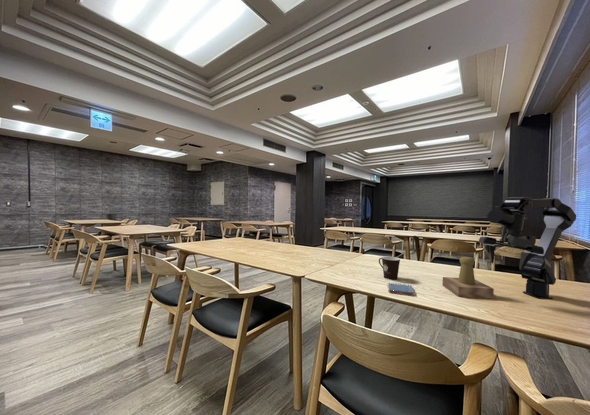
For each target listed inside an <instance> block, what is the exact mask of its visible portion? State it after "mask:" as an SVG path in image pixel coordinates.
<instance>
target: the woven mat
mask: <svg viewBox="0 0 590 415" xmlns="http://www.w3.org/2000/svg"><path fill="white" fill-rule="evenodd" d="M387 288H388V289H387V290H388V292H387V293H389V294H395V293H397V294H396V295H402V294H403V295H404V296H411V297H412V296H413V297H416V294H415V290H414V288H413V286H412V285H410V284H408V285H407V284H405V283H404V284H402V283H393V282H388V283H387ZM393 290H394V291H393Z"/></svg>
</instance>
